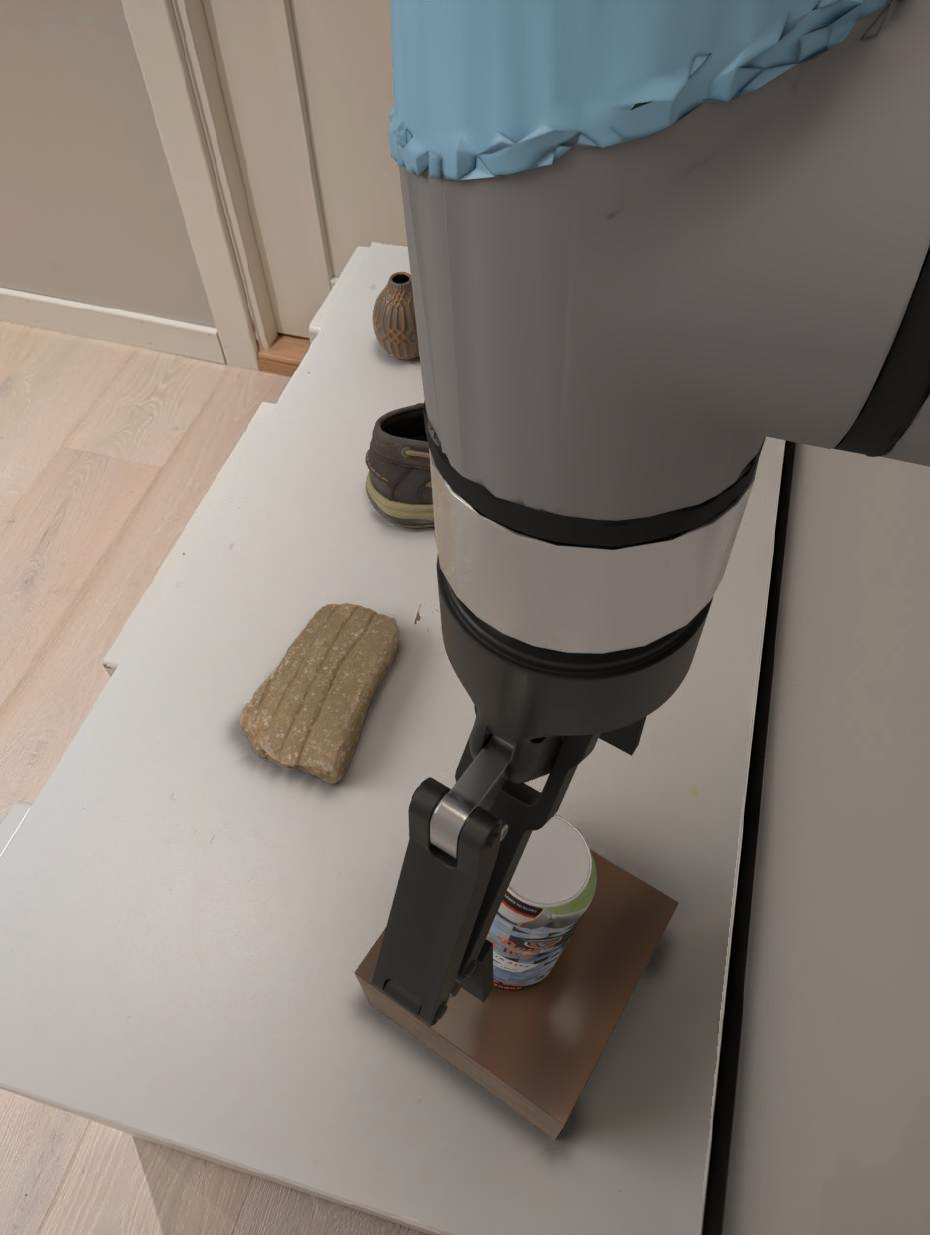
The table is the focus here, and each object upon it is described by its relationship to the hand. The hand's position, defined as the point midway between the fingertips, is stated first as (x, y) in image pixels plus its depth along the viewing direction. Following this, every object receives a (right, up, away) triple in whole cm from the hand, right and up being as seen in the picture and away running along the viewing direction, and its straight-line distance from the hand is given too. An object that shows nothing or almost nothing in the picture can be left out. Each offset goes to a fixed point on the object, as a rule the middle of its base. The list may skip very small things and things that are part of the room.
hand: (542, 847), depth 40 cm
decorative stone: (-15, +4, +31) cm, 34 cm away
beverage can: (0, -8, +11) cm, 14 cm away
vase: (-10, +41, +57) cm, 71 cm away
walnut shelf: (0, -13, +17) cm, 22 cm away
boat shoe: (+1, +24, +44) cm, 50 cm away
